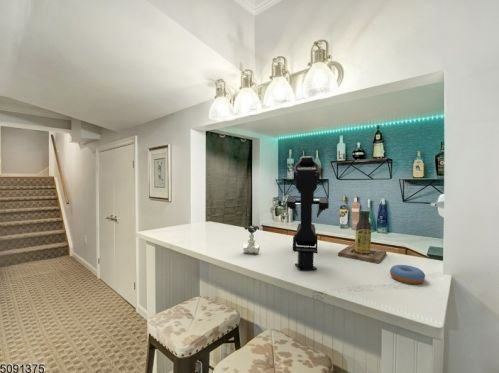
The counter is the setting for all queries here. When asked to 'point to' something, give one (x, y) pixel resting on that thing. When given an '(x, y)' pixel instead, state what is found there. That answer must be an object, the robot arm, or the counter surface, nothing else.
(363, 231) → the sauce bottle
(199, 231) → the counter surface
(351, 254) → the walnut board
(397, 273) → the doughnut
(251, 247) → the valve
